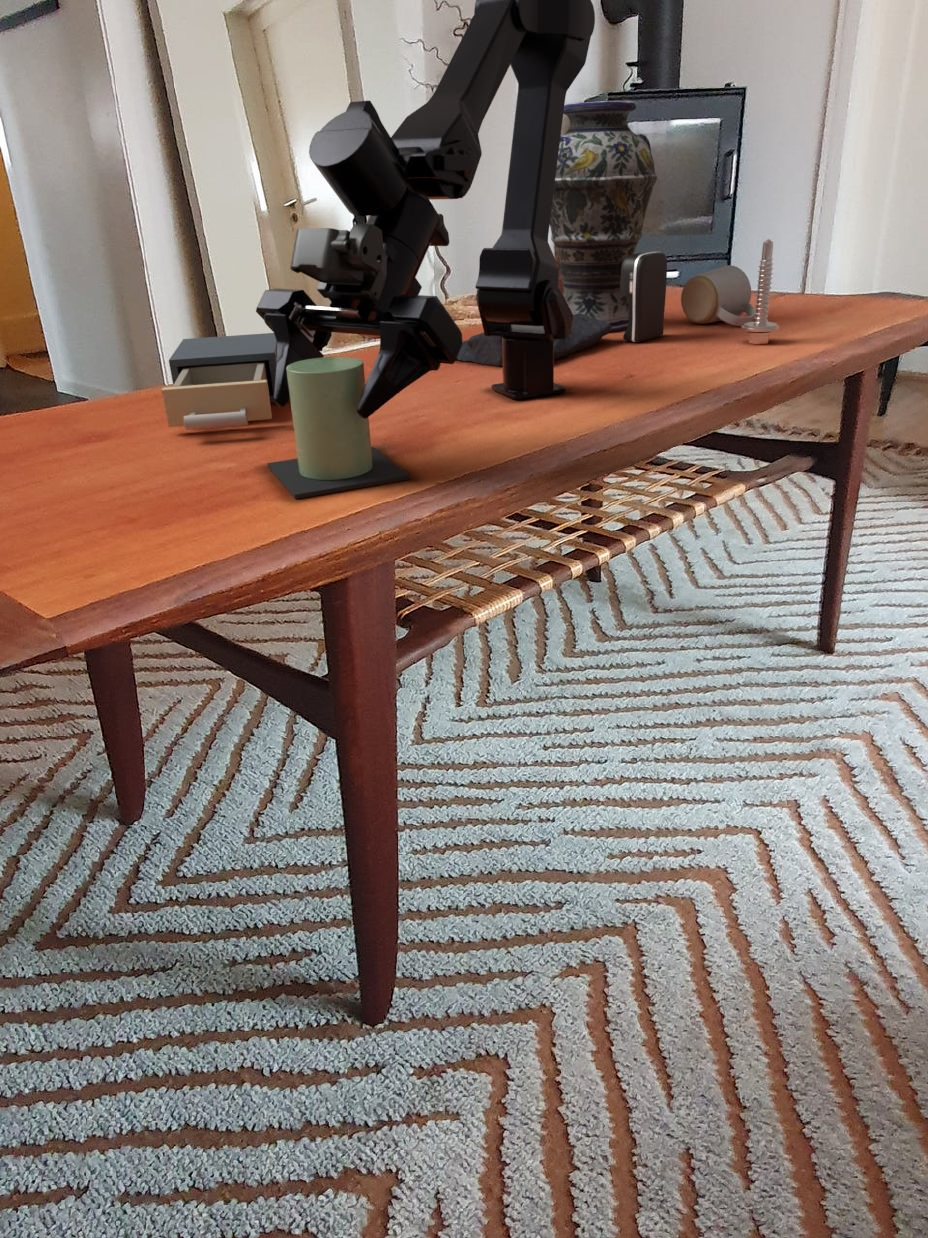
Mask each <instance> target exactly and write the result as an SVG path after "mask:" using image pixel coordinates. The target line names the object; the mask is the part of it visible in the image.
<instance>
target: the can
mask: <svg viewBox="0 0 928 1238" xmlns="http://www.w3.org/2000/svg"><path fill="white" fill-rule="evenodd" d="M286 371H287V379H288V387H289V395H290V401H289V402H290V409H291V417H292V418H291V419H292V425H293V435H294V441H295V449H296V457H297V458H296V459H298V466H299V472H300V474H301V475H302V476H304V477H306V478H310V479H315V480H340V479H347V478H352V477H356V476H359V475H362V474H365V473H367V472H368V471H370V470H371V469H372V467H373V462H372V451H371V447H372V443H371V431H370V419H369V418H370V416H369V417H368V418H366V419H365V418H362V417H361V416H360V415H359V414H358V413H357V407H358V404H359V401H360V397H361V394H362V392H363V389H364V387H365V385H366V374H365V373H366V372H365V362H364V360H362V359H360V358H357V357H351V356H324V357H323V358H313V359H307V360H302V361H298V362H294V363H292V364H290V365H288V366H287V367H286Z"/></svg>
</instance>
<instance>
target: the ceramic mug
mask: <svg viewBox="0 0 928 1238" xmlns="http://www.w3.org/2000/svg"><path fill="white" fill-rule="evenodd" d="M751 299H752V287H751V283H750V279H749V277H748V276H747V274H746V273H745V272H744V270H742V269H741V268H739V267H738V266H737V265H736V266H735V265H724V266H721V267H717V268H714V269H710V270H707V271H703V272H700V273H698V274H696V275H694V276H692V277H691V278H689V280H687V281H686V283H685V284H684V285H683V288H682V290H681V296H680V305H681V308H682V311H683V313H684V315H685V316H686V318H687V319H689V320H690V321H691V322H693V323H696V324H701V325H702V324H705V325H706V324H711V323H716V322H721V321H723V322H724V323H726V324H728V325H732V326H735V327H742V326H743V325H744V324H745V323H748V322H754V320H755V319H754V318H755V314H754V313H756V310H755V307H754V305H752V303H751ZM744 313H745V314H746V315H747V316H743V314H744Z"/></svg>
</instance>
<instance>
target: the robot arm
mask: <svg viewBox="0 0 928 1238" xmlns="http://www.w3.org/2000/svg"><path fill="white" fill-rule="evenodd" d="M473 10H474V14H473V15H472V18H471V20H470V22H469V24H468V26H467V28H466V30H465V31H464V34H463V36H462V38H461V40H460V41H459V43H458V46H457V47H456V49H455V51H454V53H453V55H452V57H451V59H450V61H449V63H448V65H447V67H446V69H445V71H444V73H443V75H442V77H441V79H440V80H439V82H438V85H437V87H436V88H435V90H434V92H433V94H432V95H431V97H430V98H429V99H428V101H427V102H426V103H424V104H423V105H422V106H420V107H419V108H417V109H416V110H414V111H413V112H412V113H410V114H409V115H407V116H406V117H405V119H404V120H402V122H401V123H400V125H399V126H398V127H397V129H396V130H395V132H394V133H393V134H392V135H390V133H389V132H388V130H387V129H386V128H385V126H384V124H383V122H382V121H381V117H380V115H379V113H378V111H377V109H376V108H375V106H374V104H373V103H372V101H371V100H358V101H350V102H349V103H348V105H347V107H346V109H345V111H344V112H342V113H340V114H338V115H336V116H334V117H333V118H332V119H330V120H329V121H328V122H327V123H326V124H325V125H324V126H322V128H321V129H320V130H318V131H316V132H315V133H314V135H313V136H312V138H311V141H310V144H309V149H308V154H309V159H310V160H311V162H312V163H313V164H314V166H315V167H316V168H317V170H318V171H319V173H320V174H321V175H322V177H323V179H325V181H326V182H327V183H328V185H329V186H330V189H332V190H333V192H334V193H335V195H336V196H337V198H338V199H339V200H340V201H341V203H342V205H343V206H344V207H345V208H346V209H347V212H348V213H350V214H352V216H356V217H367V216H369V217H368V218H367V221H366V223H355V224H354V225H353V226H352V227H351V228H350V230H348V229H336V228H331V227H299V228H297V229H296V231H295V239H294V243H293V250H292V255H291V262H290V268H289V269H290V270H291V271H292V272H294V273H296V274H300V273H301V274H304V275H306V276H307V277H309V278H311V279H313V280H315V281H317V282H319V283H318V285H317V287H316V290H317V292H319V294H320V295H321V296H322V297H323V298H324V299H328V300H329V301H330V303H329V306H320V305H319V306H318V305H317V304H316V303H315V301H313V299H312V298H311V297H310V296H309V295H308V293H307V292H306V291H305V290H304V289H297V288H295V289H294V288H271V289H265V290H264V292H263V293H262V296H261V298H260V300H259V302H258V303H257V306H256V308H255V313H256V314H257V315H258V316H260V318H261V319H262V320H263V321H264V324H265V325H266V326H267V327H268V328H269V330H271V331H272V333H274V335H275V338H276V342H277V363H276V376H275V389H274V402H275V403H274V404H276V405H277V406H278V407H279V408H285V407H286V405H288V403H289V402H290V395H289V387H288V379H287V371H286V367H287V366H288V365H290V364H292V363H294V362H298V361H302V360H307V359H313V358H323V357H325V355H324V354H323V353H322V352H321V350H322V349H324V348H325V347H327V346H328V344H329V342H330V340H331V339H332V336H333V334H332V333H336V334H337V333H339V334H351V335H358V336H360V337H368V338H369V337H371V338H379V351H378V353H377V356H376V358H375V360H374V363H373V366H372V367H371V370H370V373H369V375H368V378H367V380H366V381H365V384H366V385H365V387H364V389H363V392H362V394H361V397H360V401H359V404H358V407H357V413H358V414H359V415H360V416H361V417H362V418H365V419H366V418H368V417H369V418H370V416H372V415H373V414H374V413H376V412H377V411H378V410H379V409H381V408H382V407H383V406H384V405H385V404H386V403H388V402H389V401H390V400H391V399H393V398H394V397H395V396H397V395H398V394H399V393H400V392H402V391H403V390H404V389H406V388H407V387H409V386H410V385H411V384H413V383H415V382H416V381H417V380H419V379H420V378H422V377H424V376H425V375H426V374H428V373H429V372H432V371H435V372H437V371H438V370H439V369H440V367H441V364H445V365H454V363H455V362H457V360H456V359H457V356H458V354H459V351H460V349H461V347H462V342H463V333H462V331H461V329H460V327H459V326H458V325H457V323H456V321H455V320H454V319H453V317H452V315H450V313H449V312H448V310H447V308H446V307H445V306H444V304H443V303H442V302H441V300H440V299H439V297H438V296H437V295H422V294H421V295H420V293H421V290H422V288H423V286H422V285H421V283H420V282H419V280H418V279H417V275H418V273H419V270H420V268H421V266H422V264H423V261H424V260H425V257H426V255H427V253H428V250H429V248H430V247H448V246H449V245H450V234H449V231H448V229H447V227H446V225H445V220H444V215H443V214H442V213H439V212H438V211H437V210H436V208H435V207H434V205H433V203H432V200H459V199H463V198H464V197H465V196H466V195H467V194H468V192H469V191H470V189H471V186H472V184H473V182H474V179H475V176H476V173H477V170H478V167H479V164H480V161H481V159H482V153H483V151H482V146H481V142H480V137H479V132H480V130H481V127H482V124H483V122H484V119H485V118H486V115H487V113H488V111H489V109H490V107H491V106H492V103H493V101H494V99H495V96H496V95H497V93H498V90H499V89H500V87H501V86H502V85H501V84H502V82H503V80H504V78H505V76H506V75H507V72H508V70H509V68H510V67H511V69H512V73H513V75H514V77H515V79H516V82H517V94H516V102H515V103H516V104H515V113H514V121H513V131H512V139H511V149H510V157H509V165H508V175H507V182H506V183H507V184H506V192H505V201H504V210H503V219H502V228H501V234H500V236H499V237H498V239H497V240H496V242H495V244H493V246H492V247H484V248H483V249H482V250H481V253H480V255H479V261H478V262H479V264H478V265H479V266H478V267H479V268H478V278H477V280H476V284H475V289H476V304H477V309H478V312H479V317H480V321H481V326H482V330H483V333H484V334H485V336H487V337H490V336H498V337H502V359H503V366H502V382H501V383H494V384H491V390H492V391H495V392H498V393H499V394H501V395H504V396H506V397H508V398H511V399H513V400H522V399H528V398H535V397H543V396H549V395H554V394H561V393H562V394H563V393H565V392H566V391H567V387H566V386H564V385H560V384H558V383H555V382H554V381H555V380H554V377H555V376H554V375H555V370H554V369H555V368H554V367H555V360H554V340H556V339H565V338H568V335H570V333H571V328H572V321H573V313H572V311H571V309H570V308H569V306H568V304H567V302H566V300H565V298H564V296H563V292H562V291H561V289H560V287H559V283H560V282H559V280H560V268H559V265H558V263H557V260H556V258H555V255H554V253H553V251H552V248H551V245H550V243H549V234H550V218H551V210H552V202H553V193H554V185H555V177H556V169H557V161H558V153H559V145H560V137H561V136H562V127H563V120H564V114H563V113H564V106H565V105H566V96H567V92H568V90H569V89H570V88H571V86H572V84H573V83H574V81H575V80H576V78H578V76H579V74H580V72H581V71H582V70H583V68H584V67H585V65H586V62H587V56H588V54H589V53H588V52H589V48H590V43H591V40H592V39H591V37H592V36H593V33H594V30H595V26H596V25H595V23H596V15H595V14H596V13H595V7H594V4H593V2H592V0H475V2H474V9H473Z"/></svg>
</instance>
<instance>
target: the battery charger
mask: <svg viewBox="0 0 928 1238" xmlns="http://www.w3.org/2000/svg"><path fill="white" fill-rule="evenodd" d="M667 279H668V258H667V255H666V254H665V253H664V252H661V251H645V252H644V251H643V252H637V253H634V254H632V255H629V256H627V257H626V258H625V259H624V261H623V263H622V267H621V278H620V294H621V295H627V301H628V303H629V323H628V327H627V330H625V332H624V334H623V335H622V339H623V340H624V341H628V342H629V341H630V342H633V343H638V342H643V341H644V342H645V341H648V340H652V339H655V338H657V337H660V336H662V335H664V331H665V330H664V328H665V327H664V326H665V309H666V297H667V295H666V294H667V281H668V280H667Z"/></svg>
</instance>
